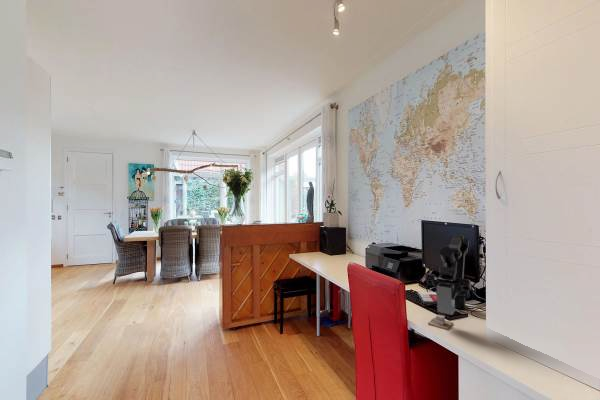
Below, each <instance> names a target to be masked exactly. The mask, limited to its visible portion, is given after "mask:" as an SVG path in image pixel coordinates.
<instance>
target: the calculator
mask: <svg viewBox="0 0 600 400" xmlns="http://www.w3.org/2000/svg"><path fill="white" fill-rule="evenodd" d="M417 294H418V296H419V298H420V299H421V301H422V302H423V304H437V294H436V291H435V292H434V291H417Z"/></svg>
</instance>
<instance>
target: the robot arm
mask: <svg viewBox="0 0 600 400" xmlns="http://www.w3.org/2000/svg"><path fill="white" fill-rule="evenodd" d="M469 242H470V239H468V238H466V237H464V235H452V238H451V242H450V244H449V245H445V246H444V247H443V248H441V249H440V250H439V255H440V257H441V261H442V264H443V265H442V266H441V265H440V266H438V267H439V269H438V273H439V277H437V276H436V274H431V273H426V274H425V276H424V279H425V281H426V284H428V285H432V286H433V287H434V289H435V292H436V294H437V285H438V284H439V283H445V284H451V285H454V291H453V295H452V300H454V299H455V309H460V310H464V311H465V310H466V309H467V308H468V307H469V306H468V305H466V299H468V298H470V291H472V284H471V281H470V279H468V278H465V277H464V276H465V275H464V274H465V259H466V258H465V257H466V255H467V254H468V253H469V251H468V248H469ZM469 249H470V248H469Z"/></svg>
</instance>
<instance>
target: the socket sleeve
mask: <svg viewBox="0 0 600 400" xmlns="http://www.w3.org/2000/svg"><path fill="white" fill-rule="evenodd" d="M453 291H454V285H451V284H447V283H441V282H439V284H438V285H437V307H436V309H437V312H438V313H442V314H446V315H449V316H450V315H451V316H453V314H454V313H455V311H456V308H455V299H454V300H452V295H453Z"/></svg>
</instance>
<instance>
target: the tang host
mask: <svg viewBox="0 0 600 400" xmlns="http://www.w3.org/2000/svg"><path fill="white" fill-rule="evenodd" d="M445 317H446V315H441V314H437V315H435V317H433V318H432V319H430V320H429V322H427V325H429V326H432V327H436V328H439V329H442V330H446V331H449V329H450V328H451V327H452V326H453V325H454V322H452V321H450V320H447V319H446V318H445Z"/></svg>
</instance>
